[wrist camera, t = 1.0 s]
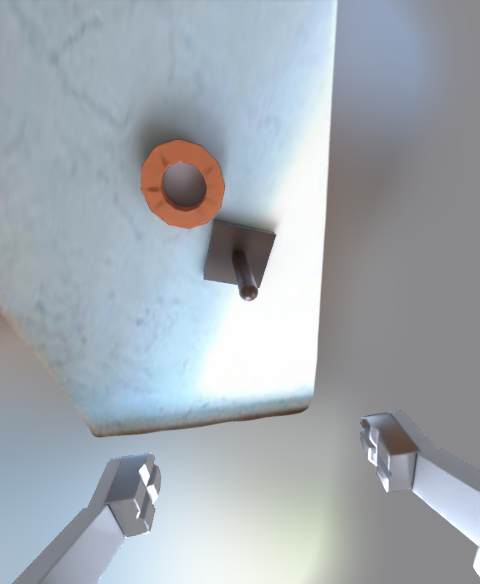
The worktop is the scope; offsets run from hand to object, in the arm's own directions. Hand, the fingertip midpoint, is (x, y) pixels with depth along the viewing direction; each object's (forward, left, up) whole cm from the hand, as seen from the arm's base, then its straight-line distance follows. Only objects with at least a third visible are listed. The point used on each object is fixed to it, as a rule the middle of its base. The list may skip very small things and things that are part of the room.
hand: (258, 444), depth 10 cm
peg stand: (+5, +4, -34) cm, 35 cm away
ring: (-4, -6, -34) cm, 35 cm away
